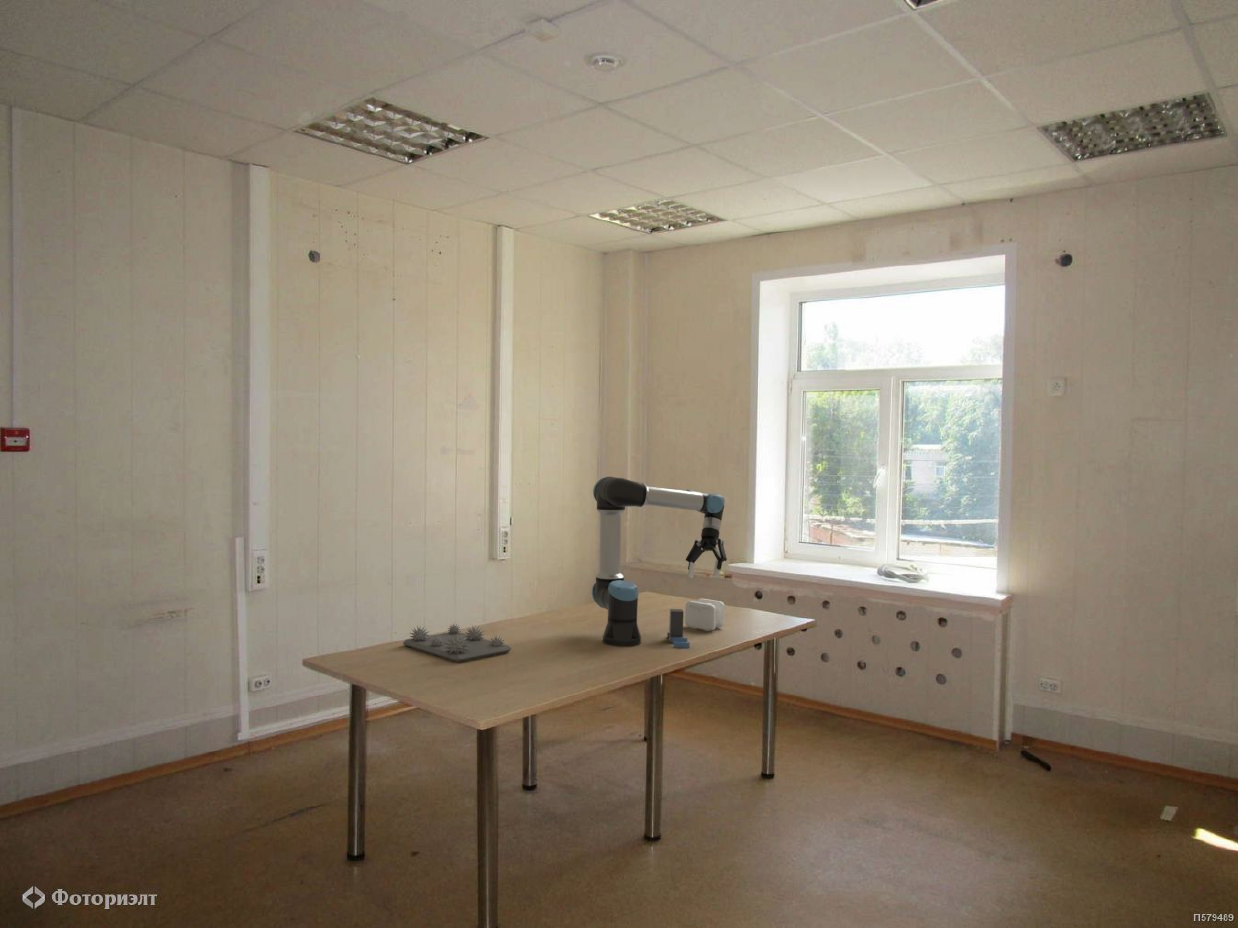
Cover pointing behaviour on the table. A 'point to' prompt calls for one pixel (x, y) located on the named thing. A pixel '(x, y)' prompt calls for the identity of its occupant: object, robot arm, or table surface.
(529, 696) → the table surface
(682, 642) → the blue flat block
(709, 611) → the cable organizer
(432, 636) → the decorative tray
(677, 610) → the dark grey rectangular block
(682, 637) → the pair of grey bars
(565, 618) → the table surface
